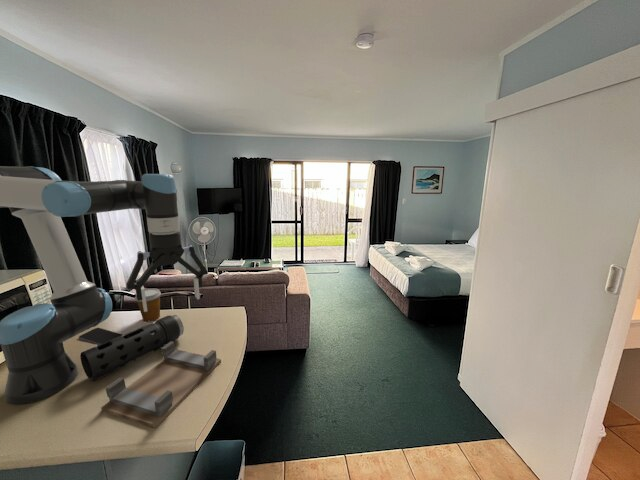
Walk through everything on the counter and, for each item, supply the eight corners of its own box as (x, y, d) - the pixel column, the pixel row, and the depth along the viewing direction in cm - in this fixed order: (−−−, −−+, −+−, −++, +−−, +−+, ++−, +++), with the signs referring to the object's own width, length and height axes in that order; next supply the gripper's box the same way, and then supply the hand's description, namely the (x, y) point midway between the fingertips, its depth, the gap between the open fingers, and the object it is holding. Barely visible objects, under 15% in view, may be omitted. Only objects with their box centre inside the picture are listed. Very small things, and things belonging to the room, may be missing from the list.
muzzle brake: (84, 376, 86) (77, 347, 83) (172, 334, 109) (169, 310, 106) (96, 389, 81) (89, 358, 78) (186, 342, 103) (183, 316, 101)
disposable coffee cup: (157, 310, 127) (154, 286, 124) (168, 316, 122) (164, 291, 119) (134, 319, 119) (130, 293, 117) (144, 326, 114) (140, 299, 111)
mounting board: (101, 410, 73) (97, 393, 72) (177, 352, 97) (175, 338, 96) (155, 428, 68) (152, 409, 67) (221, 361, 92) (219, 347, 91)
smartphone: (105, 345, 101) (77, 337, 105) (105, 348, 101) (77, 339, 105) (124, 334, 107) (97, 327, 112) (125, 337, 108) (97, 329, 112)
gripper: (107, 240, 65) (120, 321, 70) (215, 229, 80) (220, 297, 85) (107, 234, 71) (119, 309, 76) (208, 225, 86) (212, 289, 91)
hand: (172, 303), depth 80 cm, fingers open, 13 cm apart
